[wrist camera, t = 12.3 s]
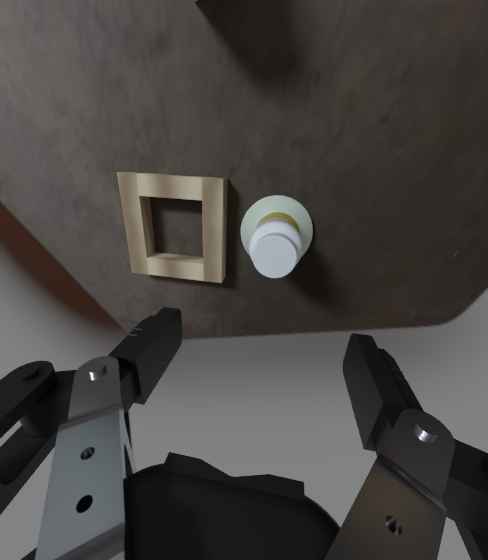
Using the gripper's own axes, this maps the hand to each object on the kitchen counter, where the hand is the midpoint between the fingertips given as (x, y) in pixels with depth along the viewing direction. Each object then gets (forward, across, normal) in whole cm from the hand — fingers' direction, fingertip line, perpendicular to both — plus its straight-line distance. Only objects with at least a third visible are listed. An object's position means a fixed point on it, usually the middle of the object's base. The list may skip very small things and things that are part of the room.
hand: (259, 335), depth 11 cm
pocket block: (+22, +13, 0) cm, 25 cm away
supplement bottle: (+21, 0, 0) cm, 21 cm away
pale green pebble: (+22, 0, 0) cm, 22 cm away
